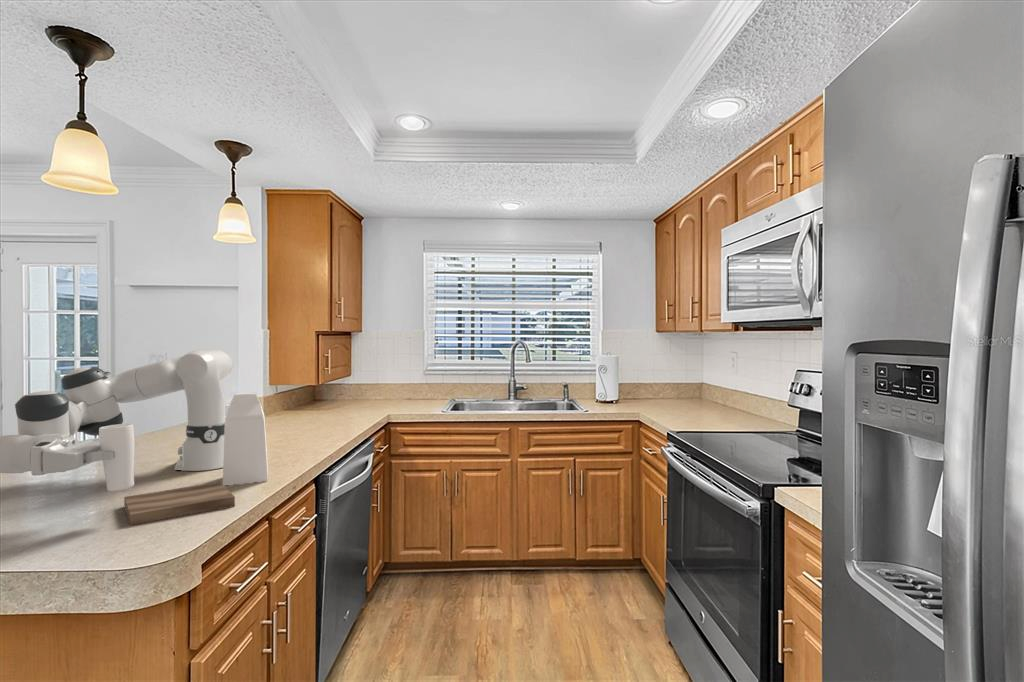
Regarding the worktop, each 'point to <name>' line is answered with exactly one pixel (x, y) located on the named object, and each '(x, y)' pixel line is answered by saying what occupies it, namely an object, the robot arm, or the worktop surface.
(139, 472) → the worktop surface
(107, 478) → the drinking glass
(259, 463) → the milk
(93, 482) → the worktop surface
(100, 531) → the worktop surface
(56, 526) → the worktop surface
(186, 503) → the walnut board
